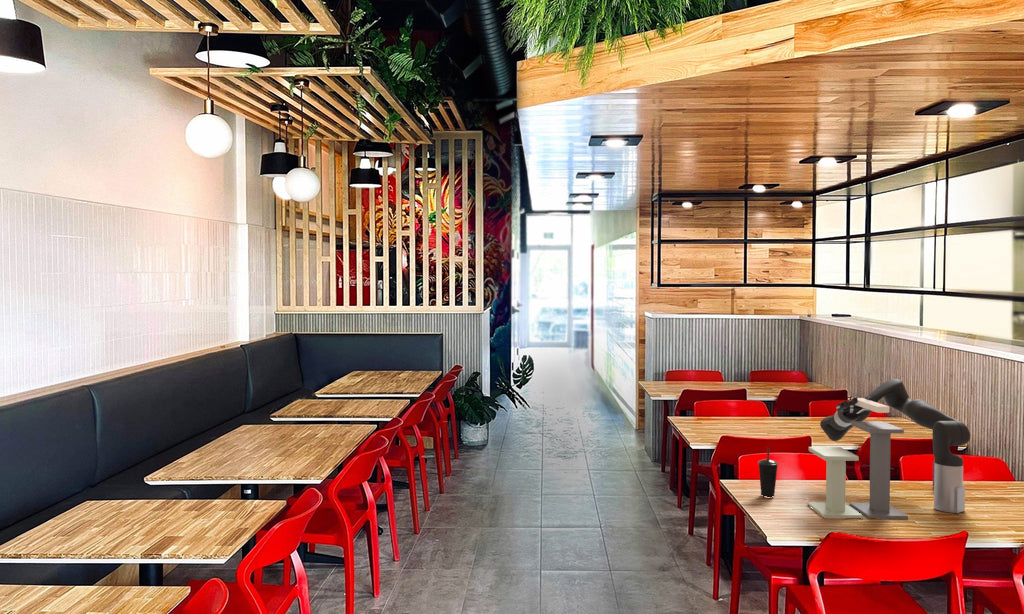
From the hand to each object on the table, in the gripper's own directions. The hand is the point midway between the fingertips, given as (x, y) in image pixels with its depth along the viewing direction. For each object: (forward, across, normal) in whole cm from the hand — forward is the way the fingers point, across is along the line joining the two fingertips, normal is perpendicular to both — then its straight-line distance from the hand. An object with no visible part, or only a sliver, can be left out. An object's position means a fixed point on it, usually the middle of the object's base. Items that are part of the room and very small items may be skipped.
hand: (863, 399), depth 284 cm
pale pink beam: (+4, 0, +5) cm, 6 cm away
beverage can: (-39, +42, +24) cm, 62 cm away
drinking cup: (-25, -34, +32) cm, 53 cm away
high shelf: (-10, 0, +40) cm, 42 cm away
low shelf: (-9, -16, +41) cm, 45 cm away
